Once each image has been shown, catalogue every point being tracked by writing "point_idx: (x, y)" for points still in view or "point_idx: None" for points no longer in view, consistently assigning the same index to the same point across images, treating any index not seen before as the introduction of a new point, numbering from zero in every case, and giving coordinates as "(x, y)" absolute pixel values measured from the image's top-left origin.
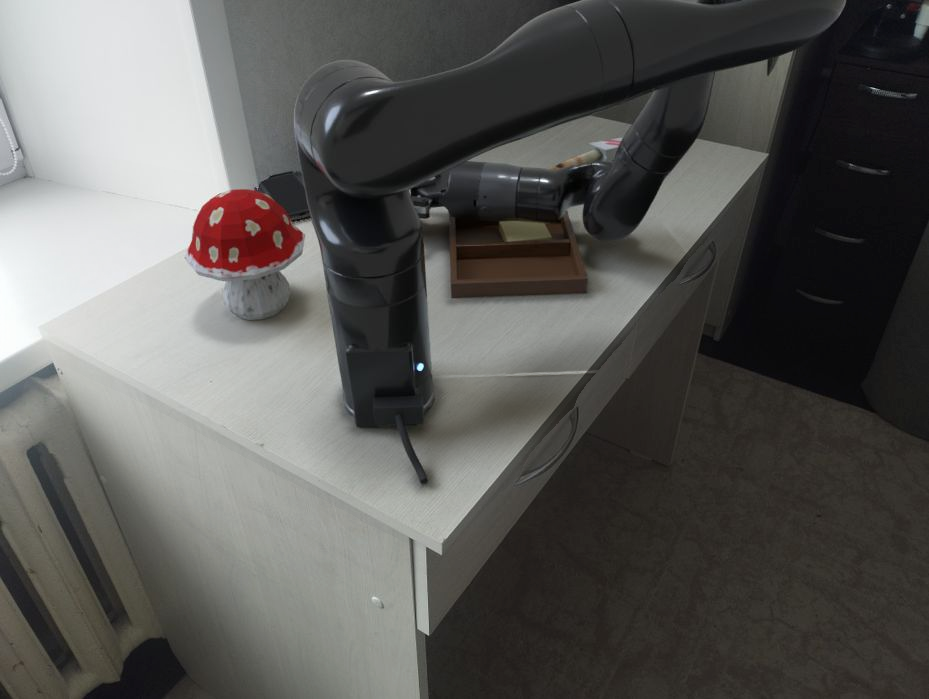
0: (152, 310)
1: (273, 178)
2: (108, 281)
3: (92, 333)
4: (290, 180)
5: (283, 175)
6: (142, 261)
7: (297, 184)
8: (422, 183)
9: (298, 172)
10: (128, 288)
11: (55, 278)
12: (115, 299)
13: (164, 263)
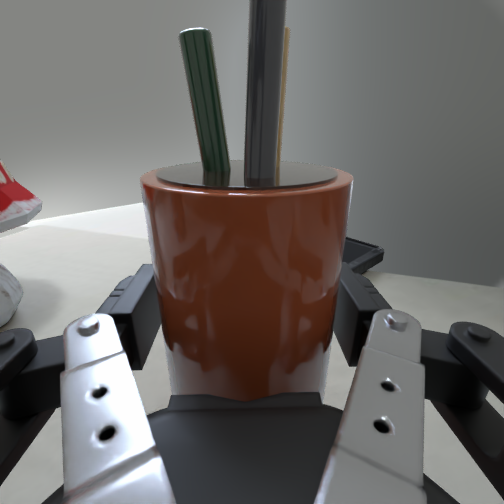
0: (29, 256)
1: (346, 241)
2: (109, 228)
3: (6, 242)
4: (353, 251)
5: (361, 245)
6: (144, 231)
7: (347, 258)
8: (64, 492)
9: (381, 251)
10: (89, 237)
11: (123, 214)
12: (70, 237)
13: (137, 240)
